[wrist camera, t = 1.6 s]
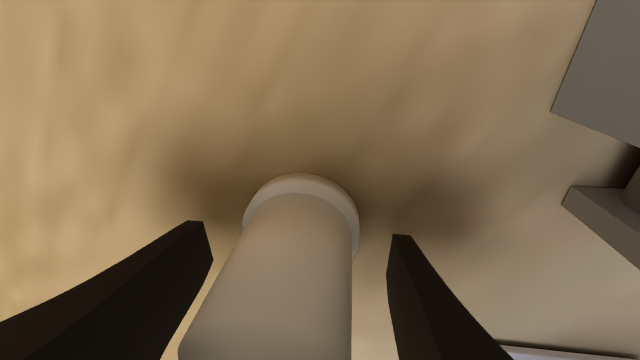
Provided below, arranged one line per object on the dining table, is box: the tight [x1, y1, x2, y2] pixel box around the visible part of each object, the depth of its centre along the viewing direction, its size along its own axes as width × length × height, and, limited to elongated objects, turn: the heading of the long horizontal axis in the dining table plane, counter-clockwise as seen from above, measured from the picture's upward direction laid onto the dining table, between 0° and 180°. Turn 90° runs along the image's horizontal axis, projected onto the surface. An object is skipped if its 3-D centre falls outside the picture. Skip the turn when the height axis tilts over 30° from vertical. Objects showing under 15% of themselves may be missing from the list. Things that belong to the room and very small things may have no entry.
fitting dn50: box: [178, 173, 360, 360], centre depth 9 cm, size 5×5×6 cm
